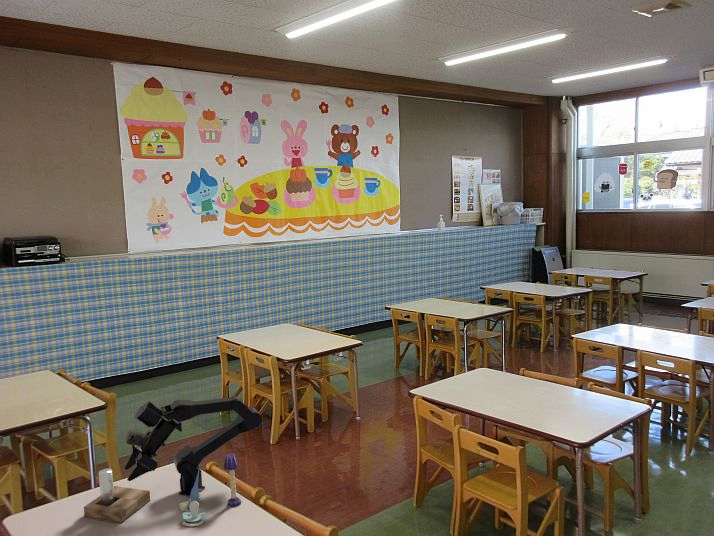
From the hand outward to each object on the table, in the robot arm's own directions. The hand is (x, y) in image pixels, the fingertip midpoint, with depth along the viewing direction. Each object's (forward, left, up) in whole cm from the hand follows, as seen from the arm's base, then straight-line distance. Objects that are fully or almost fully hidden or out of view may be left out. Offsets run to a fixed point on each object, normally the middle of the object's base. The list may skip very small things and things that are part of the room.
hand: (126, 474), depth 191 cm
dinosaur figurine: (-19, -7, -11) cm, 23 cm away
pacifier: (-26, +3, -11) cm, 28 cm away
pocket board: (+2, +2, -11) cm, 11 cm away
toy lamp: (-33, -10, -11) cm, 36 cm away
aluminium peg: (+4, +4, -10) cm, 12 cm away
